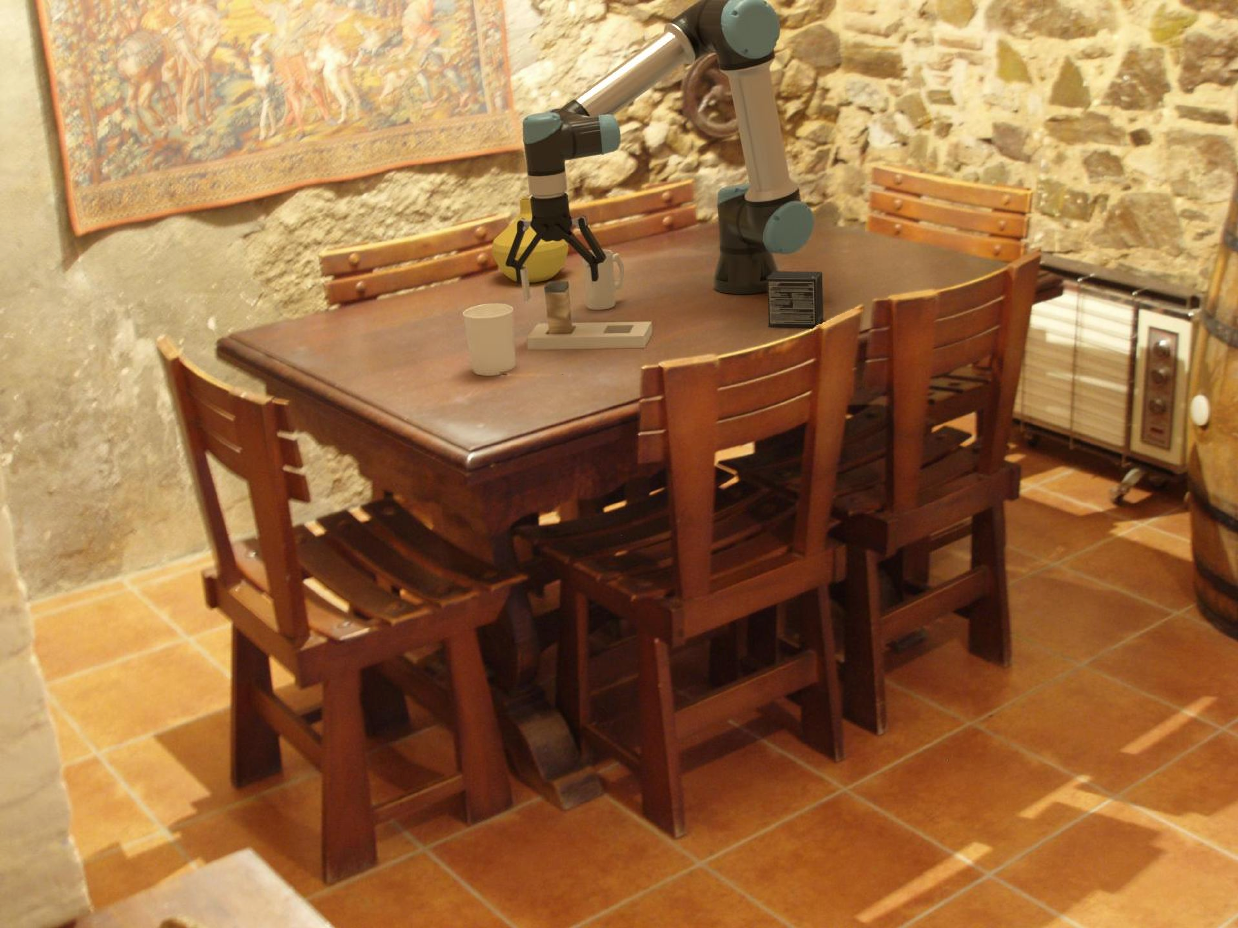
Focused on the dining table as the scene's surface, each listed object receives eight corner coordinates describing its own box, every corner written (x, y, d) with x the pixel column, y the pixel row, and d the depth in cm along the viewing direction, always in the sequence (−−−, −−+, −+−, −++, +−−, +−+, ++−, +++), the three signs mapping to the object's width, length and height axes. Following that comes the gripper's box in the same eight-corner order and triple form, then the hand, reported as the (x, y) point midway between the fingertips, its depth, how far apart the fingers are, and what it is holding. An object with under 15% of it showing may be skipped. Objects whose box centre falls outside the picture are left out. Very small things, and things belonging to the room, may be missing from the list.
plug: (573, 338, 294) (568, 281, 289) (569, 344, 290) (564, 286, 286) (554, 338, 295) (548, 281, 290) (549, 344, 291) (544, 287, 286)
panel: (652, 335, 294) (651, 321, 292) (644, 350, 285) (643, 336, 283) (539, 337, 298) (538, 323, 297) (528, 352, 289) (526, 338, 288)
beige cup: (469, 364, 284) (462, 306, 280) (518, 359, 285) (512, 301, 281) (469, 379, 275) (462, 319, 271) (520, 374, 276) (513, 315, 271)
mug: (597, 312, 313) (592, 258, 308) (580, 306, 318) (575, 254, 314) (634, 302, 318) (630, 249, 314) (617, 297, 323) (613, 245, 319)
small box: (824, 319, 296) (823, 270, 292) (818, 328, 290) (817, 278, 286) (774, 318, 299) (773, 269, 295) (767, 327, 293) (765, 277, 289)
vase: (558, 264, 356) (552, 188, 349) (580, 280, 340) (573, 200, 332) (487, 275, 351) (479, 198, 344) (506, 292, 335) (497, 211, 327)
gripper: (614, 187, 282) (623, 290, 290) (492, 193, 287) (504, 295, 295) (607, 195, 275) (616, 301, 283) (482, 201, 280) (495, 305, 288)
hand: (559, 298), depth 289 cm, fingers open, 13 cm apart
